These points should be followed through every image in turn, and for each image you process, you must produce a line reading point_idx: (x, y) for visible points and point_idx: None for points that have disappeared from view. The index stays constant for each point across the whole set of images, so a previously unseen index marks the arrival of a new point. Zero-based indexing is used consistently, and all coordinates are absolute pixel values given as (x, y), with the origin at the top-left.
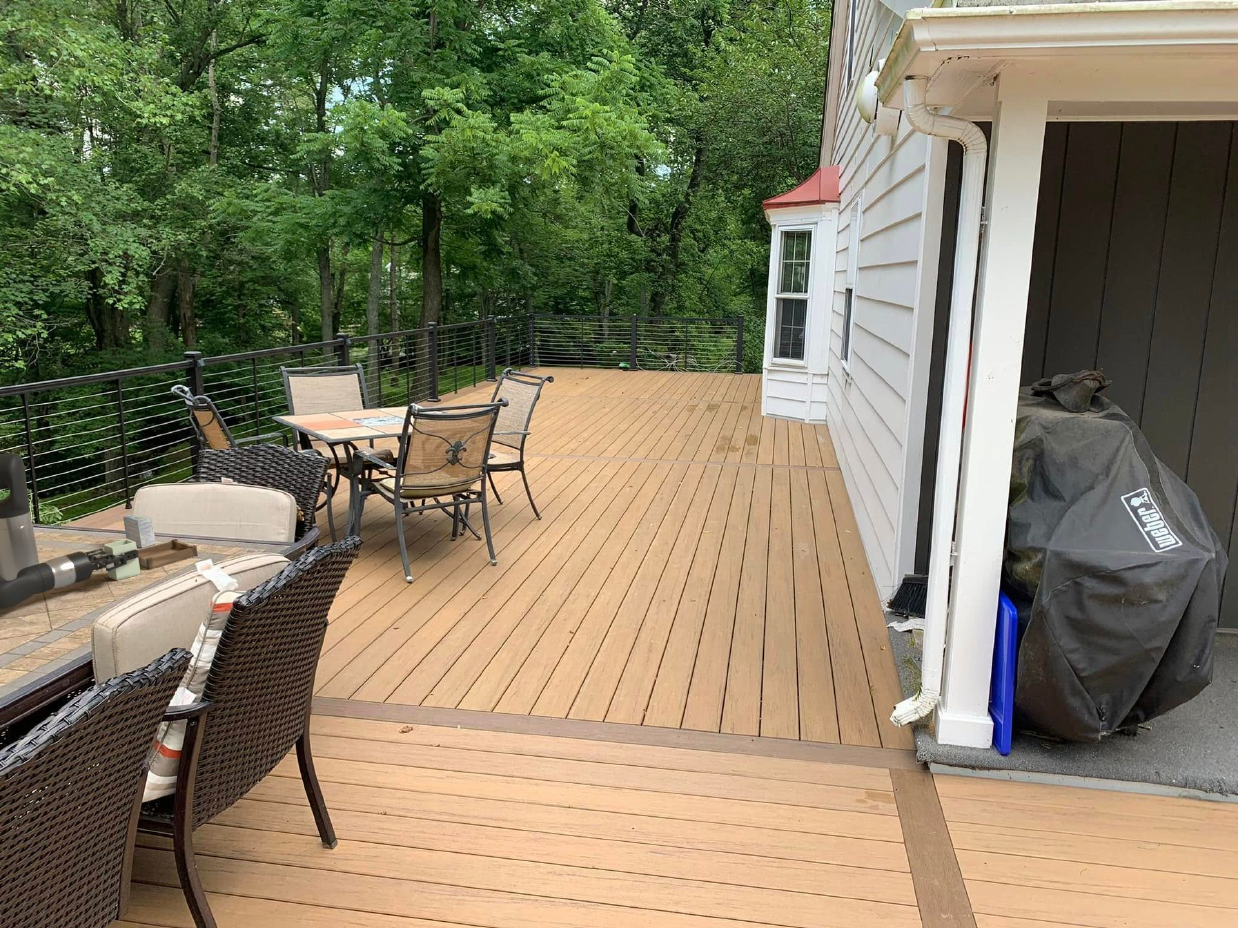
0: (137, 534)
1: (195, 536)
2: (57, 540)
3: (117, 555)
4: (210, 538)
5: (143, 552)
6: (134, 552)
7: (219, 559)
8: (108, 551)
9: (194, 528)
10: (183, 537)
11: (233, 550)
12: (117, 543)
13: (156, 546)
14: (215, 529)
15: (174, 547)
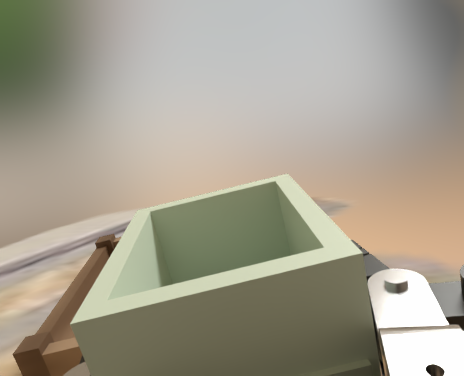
0: None
1: (70, 244)
2: None
3: (439, 316)
4: (126, 226)
5: (70, 321)
6: (355, 243)
7: (334, 207)
8: (231, 361)
9: (14, 246)
10: (40, 259)
11: None
12: (141, 257)
13: (87, 277)
14: (78, 224)
15: None
